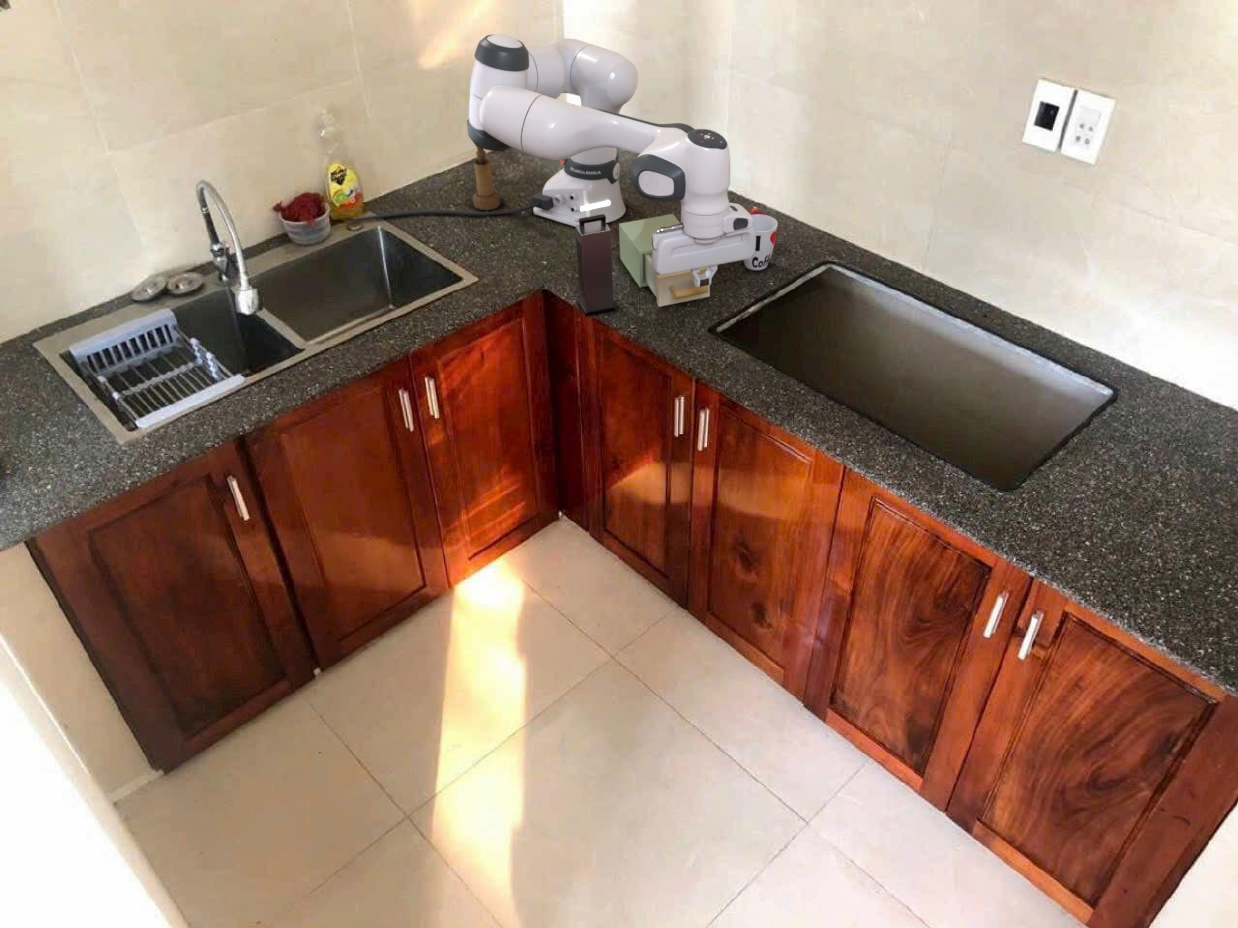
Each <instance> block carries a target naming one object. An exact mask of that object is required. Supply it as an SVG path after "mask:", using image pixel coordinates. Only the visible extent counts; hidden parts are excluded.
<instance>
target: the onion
mask: <svg viewBox="0 0 1238 928" xmlns="http://www.w3.org/2000/svg"><path fill="white" fill-rule="evenodd" d="M748 213H749V214H750V215H756V214H760V215H766V213H764V212H763V211H761V210H760V209H759V208H758V207H757V206H755V205H753V206H752V209H751V210H750V211H748Z"/></svg>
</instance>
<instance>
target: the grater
mask: <svg viewBox="0 0 1238 928" xmlns="http://www.w3.org/2000/svg"><path fill="white" fill-rule="evenodd" d="M596 221H597V222H596ZM590 222H591V223H590ZM585 223H586V224H585ZM574 227H575V242H576V256H577V257H576V258H577V271H578V286H579V287H578V288H579V301H578V305H579V307H580V308H581V310H582V312H583V314H584V315H585V317H589V316H593V315H594V316H595V315H600V314H603V313H609V312H613V311H616V306H615V305H614V304H615V303H614V302H615V301H614V281H613V280H614V279H613V257H612V255H613V254H612V253H613V252H612V233H611V228H610V227H609V225H608V224H607V223H606V216H605V215H604V214H601V215H596V216H590V217H585V218H579V225H575V226H574Z"/></svg>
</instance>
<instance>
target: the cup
mask: <svg viewBox="0 0 1238 928" xmlns="http://www.w3.org/2000/svg"><path fill="white" fill-rule="evenodd" d="M751 216H752V218H753V225H752V228H753V229H754V232H755V239H756V249H755V254H754V255H753V256H752V258H750V259H745V260H742V261H743V265H744V266H745V268H747V269H748V270H752V271H762V270H764V269H766V268H767V267H768V265H769V264H770V261H771V258H772V255H773V253H774V247H775V243H776V239H777V231H778V221H777V219H776V218H775V217H772V216H771V215H767V214H765V215H760V214H756V215H751Z"/></svg>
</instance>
